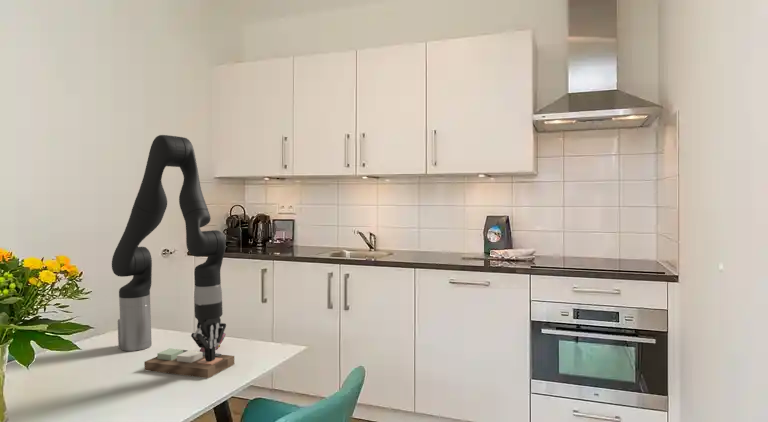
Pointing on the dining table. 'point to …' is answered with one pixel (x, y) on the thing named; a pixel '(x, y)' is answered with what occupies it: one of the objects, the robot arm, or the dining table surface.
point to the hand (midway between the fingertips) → (210, 360)
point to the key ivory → (189, 356)
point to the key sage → (169, 354)
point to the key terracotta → (209, 361)
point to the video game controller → (216, 344)
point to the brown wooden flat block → (189, 366)
